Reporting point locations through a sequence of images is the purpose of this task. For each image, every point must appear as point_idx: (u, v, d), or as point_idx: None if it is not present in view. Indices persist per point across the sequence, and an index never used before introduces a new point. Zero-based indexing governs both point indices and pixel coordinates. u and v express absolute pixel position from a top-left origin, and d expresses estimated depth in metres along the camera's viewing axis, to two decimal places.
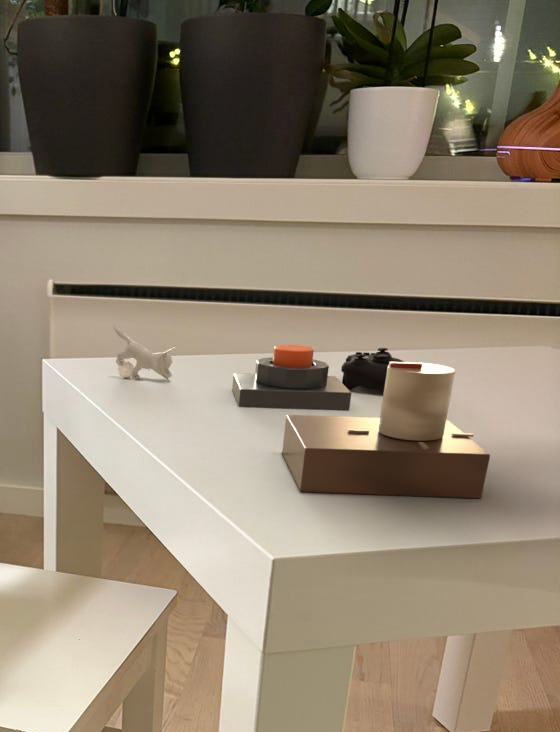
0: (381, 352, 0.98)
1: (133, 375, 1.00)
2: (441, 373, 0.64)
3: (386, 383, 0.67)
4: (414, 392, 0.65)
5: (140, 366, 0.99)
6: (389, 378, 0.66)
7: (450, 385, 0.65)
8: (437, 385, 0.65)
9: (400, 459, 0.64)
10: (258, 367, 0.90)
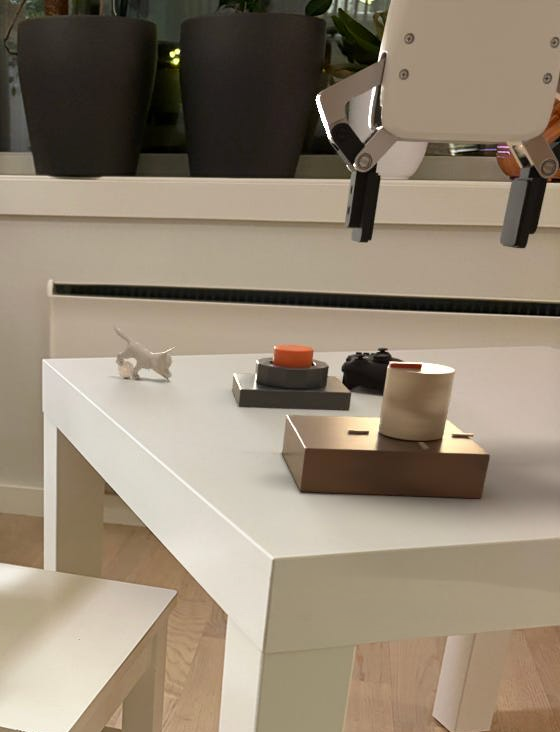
0: (381, 352, 0.98)
1: (133, 375, 1.00)
2: (441, 373, 0.64)
3: (386, 383, 0.67)
4: (414, 392, 0.65)
5: (140, 366, 0.99)
6: (389, 378, 0.66)
7: (450, 385, 0.65)
8: (437, 385, 0.65)
9: (400, 459, 0.64)
10: (258, 367, 0.90)
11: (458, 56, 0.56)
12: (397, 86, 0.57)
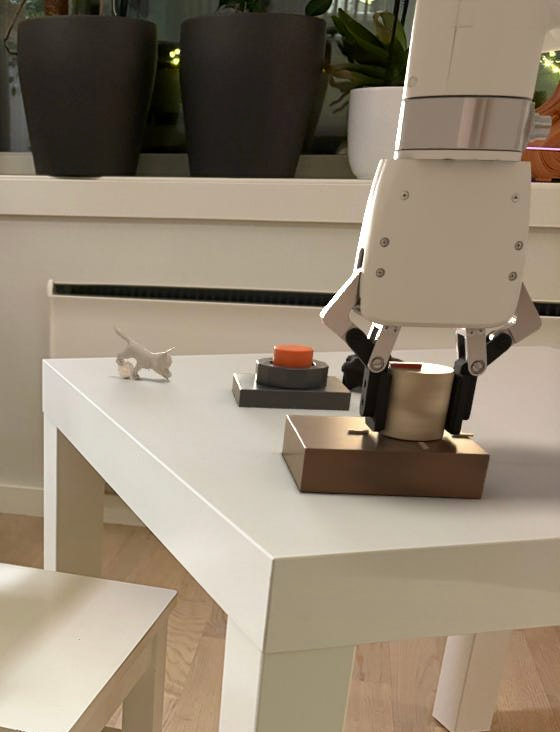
0: None
1: (133, 375, 1.00)
2: (441, 373, 0.64)
3: None
4: (414, 391, 0.65)
5: (140, 366, 0.99)
6: None
7: (450, 385, 0.65)
8: (437, 385, 0.65)
9: (400, 459, 0.64)
10: (258, 367, 0.90)
11: (430, 257, 0.61)
12: (374, 282, 0.62)
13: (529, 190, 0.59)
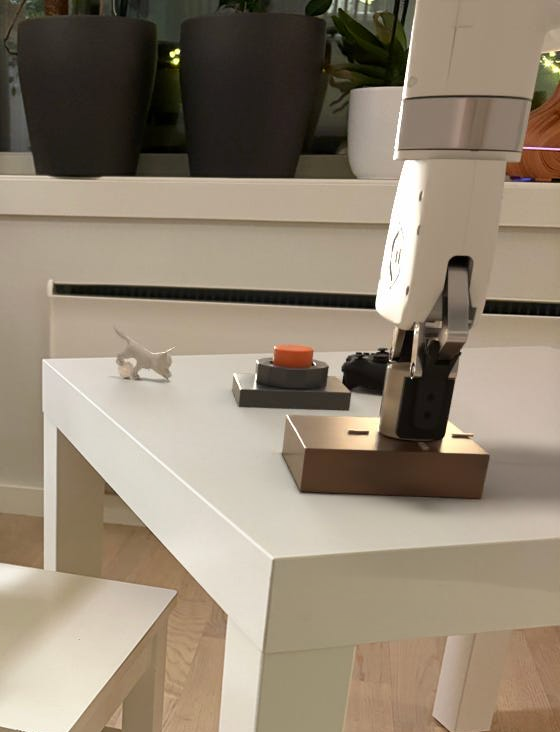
0: (381, 352, 0.98)
1: (133, 375, 1.00)
2: None
3: None
4: None
5: (140, 366, 0.99)
6: None
7: None
8: None
9: (400, 459, 0.64)
10: (258, 367, 0.90)
11: None
12: (487, 289, 0.60)
13: None
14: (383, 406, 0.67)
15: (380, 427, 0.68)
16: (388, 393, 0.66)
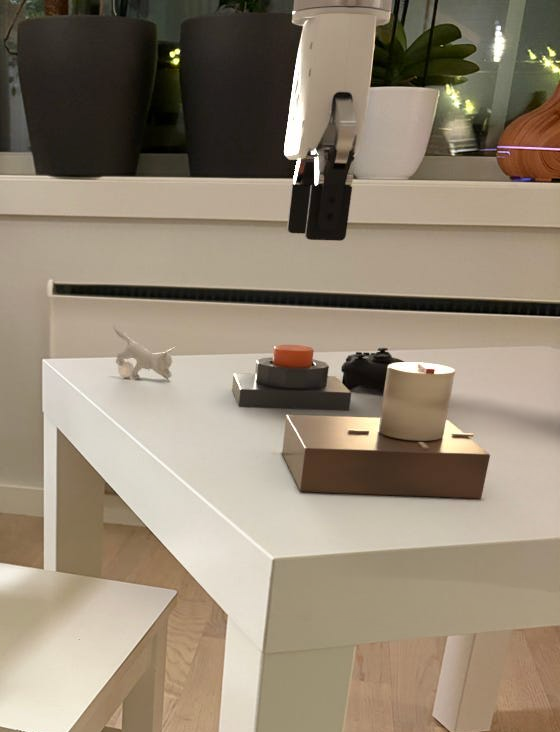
0: (381, 352, 0.98)
1: (133, 375, 1.00)
2: (444, 366, 0.67)
3: (428, 390, 0.65)
4: (451, 389, 0.66)
5: (140, 366, 0.99)
6: (436, 384, 0.65)
7: None
8: None
9: (400, 459, 0.64)
10: (258, 367, 0.90)
11: None
12: None
13: None
14: (383, 406, 0.67)
15: (380, 427, 0.68)
16: (388, 393, 0.66)
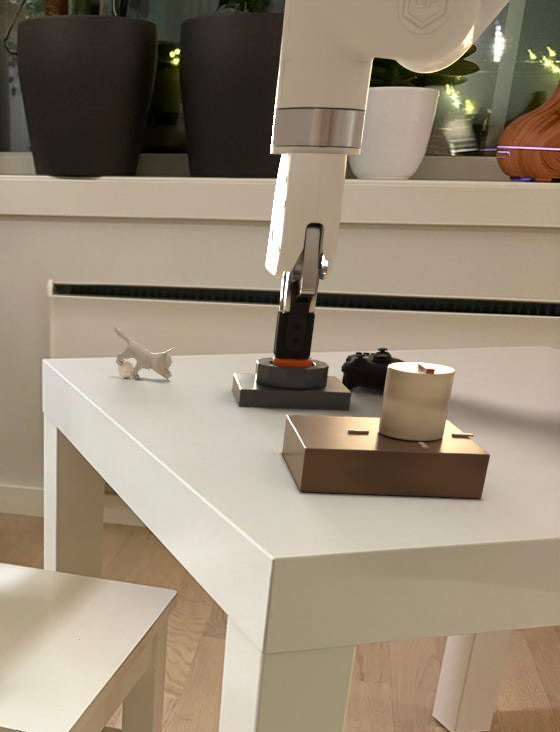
0: (381, 352, 0.98)
1: (133, 375, 1.00)
2: (444, 366, 0.67)
3: (428, 390, 0.65)
4: (451, 389, 0.66)
5: (140, 366, 0.99)
6: (436, 384, 0.65)
7: None
8: None
9: (400, 459, 0.64)
10: (258, 367, 0.90)
11: None
12: None
13: None
14: (383, 406, 0.67)
15: (380, 427, 0.68)
16: (388, 393, 0.66)
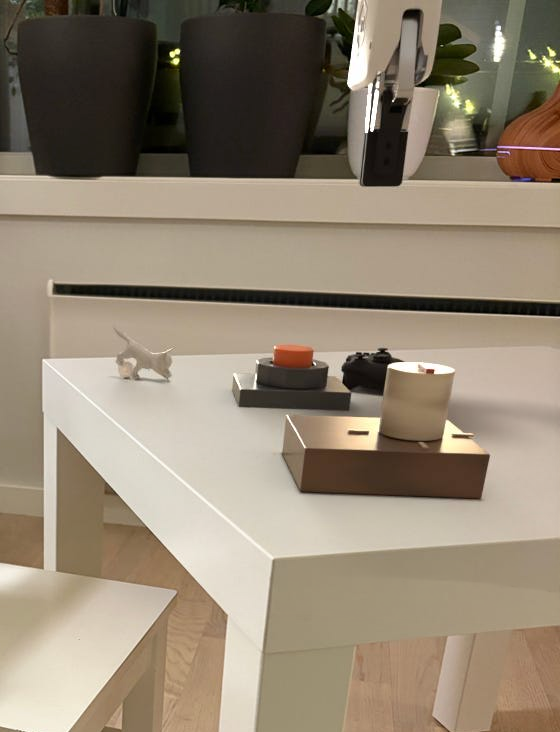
0: (381, 352, 0.98)
1: (133, 375, 1.00)
2: (444, 366, 0.67)
3: (428, 390, 0.65)
4: (451, 389, 0.66)
5: (140, 366, 0.99)
6: (436, 384, 0.65)
7: None
8: None
9: (400, 459, 0.64)
10: (258, 367, 0.90)
11: None
12: None
13: None
14: (383, 406, 0.67)
15: (380, 427, 0.68)
16: (388, 393, 0.66)
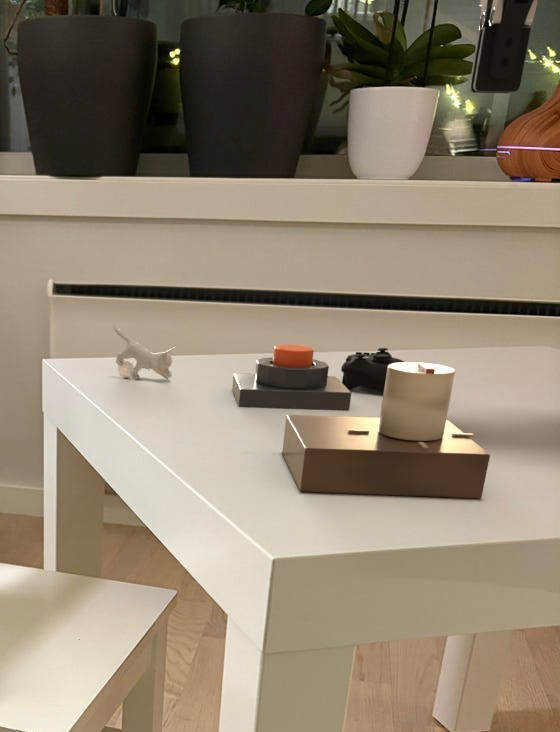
0: (381, 352, 0.98)
1: (133, 375, 1.00)
2: (444, 366, 0.67)
3: (428, 390, 0.65)
4: (451, 389, 0.66)
5: (140, 366, 0.99)
6: (436, 384, 0.65)
7: None
8: None
9: (400, 459, 0.64)
10: (258, 367, 0.90)
11: None
12: None
13: None
14: (383, 406, 0.67)
15: (380, 427, 0.68)
16: (388, 393, 0.66)
